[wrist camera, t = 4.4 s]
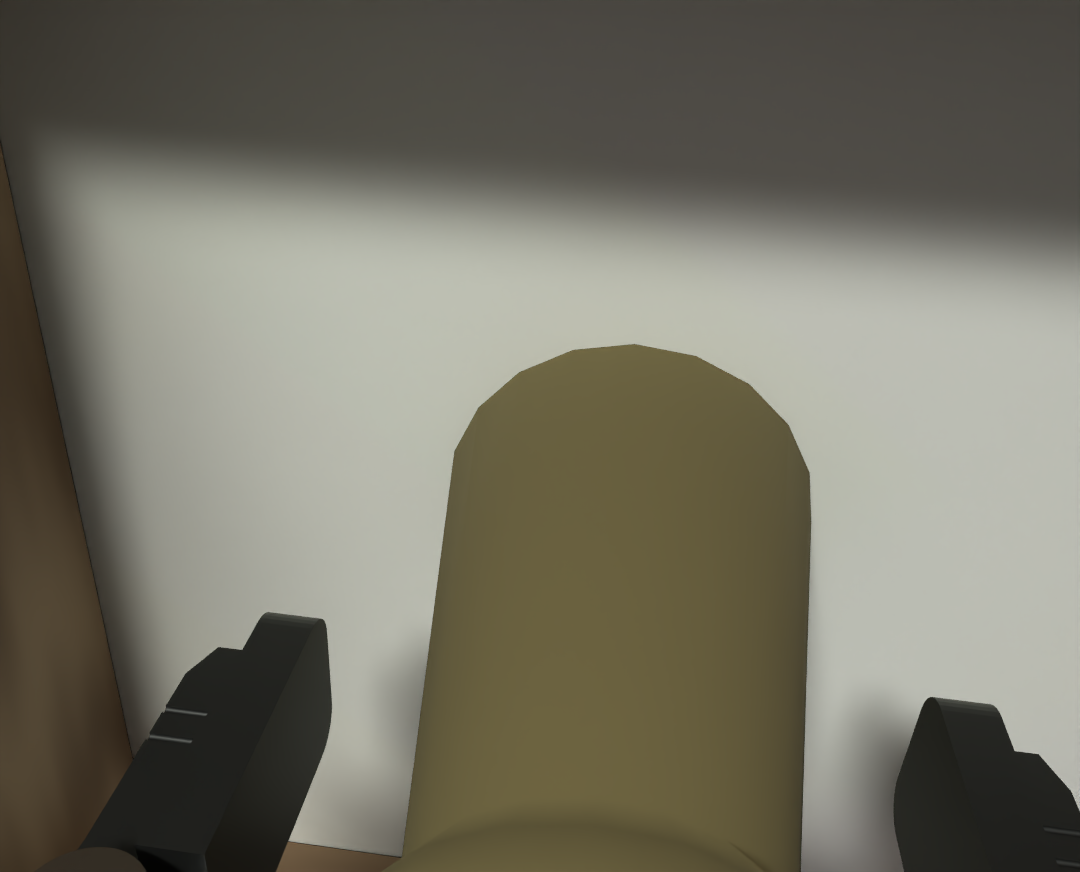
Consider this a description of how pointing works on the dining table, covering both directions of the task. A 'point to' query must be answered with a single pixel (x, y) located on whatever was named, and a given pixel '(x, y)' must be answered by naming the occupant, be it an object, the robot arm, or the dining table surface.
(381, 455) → the dining table surface
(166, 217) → the dining table surface
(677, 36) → the dining table surface
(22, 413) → the cold frame
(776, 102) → the dining table surface
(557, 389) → the cork
